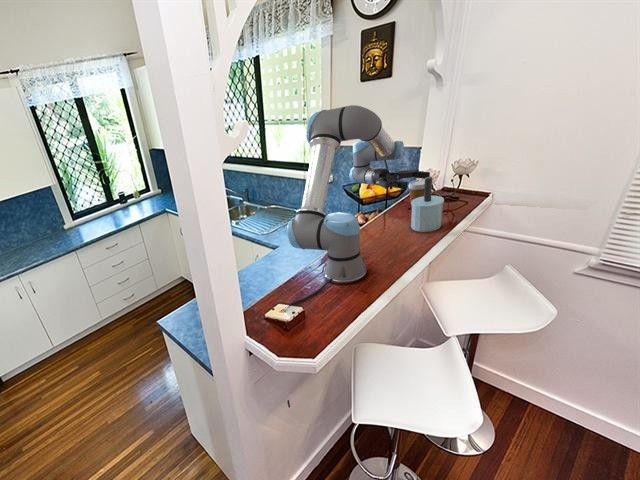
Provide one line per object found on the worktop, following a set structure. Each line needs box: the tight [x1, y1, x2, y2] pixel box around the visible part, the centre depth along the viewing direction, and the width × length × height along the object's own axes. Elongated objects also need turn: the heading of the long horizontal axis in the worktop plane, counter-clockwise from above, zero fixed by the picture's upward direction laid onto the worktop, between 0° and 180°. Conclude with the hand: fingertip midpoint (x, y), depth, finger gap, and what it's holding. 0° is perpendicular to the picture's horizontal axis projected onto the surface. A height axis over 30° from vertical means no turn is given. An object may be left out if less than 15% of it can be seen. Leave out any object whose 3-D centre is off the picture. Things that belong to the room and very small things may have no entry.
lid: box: [410, 176, 445, 207], centre depth 144 cm, size 12×12×11 cm
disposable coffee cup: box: [408, 179, 425, 208], centre depth 170 cm, size 10×10×12 cm
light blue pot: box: [410, 202, 444, 233], centre depth 149 cm, size 11×11×12 cm
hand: (418, 180), depth 145 cm, fingers open, 13 cm apart
